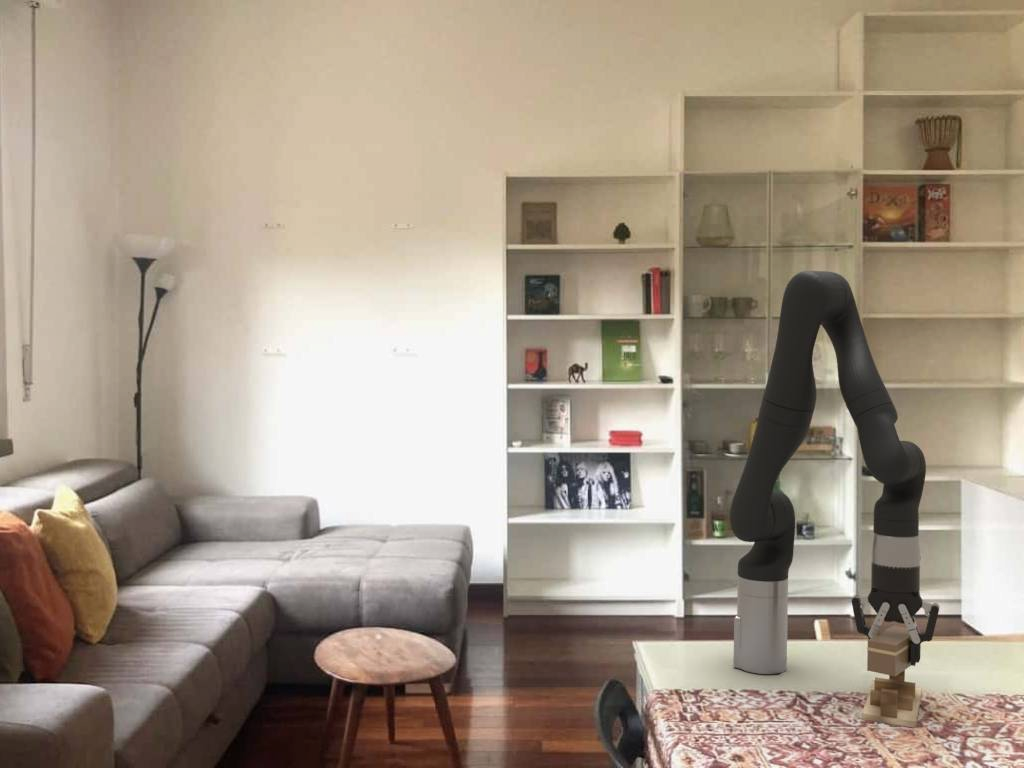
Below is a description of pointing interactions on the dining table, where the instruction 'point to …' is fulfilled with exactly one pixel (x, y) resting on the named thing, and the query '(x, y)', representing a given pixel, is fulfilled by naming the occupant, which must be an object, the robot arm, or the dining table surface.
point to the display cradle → (893, 701)
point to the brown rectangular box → (890, 651)
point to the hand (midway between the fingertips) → (894, 661)
